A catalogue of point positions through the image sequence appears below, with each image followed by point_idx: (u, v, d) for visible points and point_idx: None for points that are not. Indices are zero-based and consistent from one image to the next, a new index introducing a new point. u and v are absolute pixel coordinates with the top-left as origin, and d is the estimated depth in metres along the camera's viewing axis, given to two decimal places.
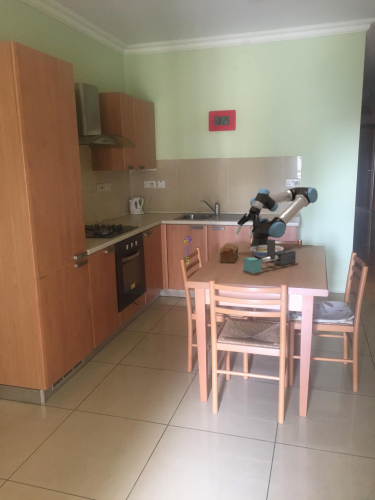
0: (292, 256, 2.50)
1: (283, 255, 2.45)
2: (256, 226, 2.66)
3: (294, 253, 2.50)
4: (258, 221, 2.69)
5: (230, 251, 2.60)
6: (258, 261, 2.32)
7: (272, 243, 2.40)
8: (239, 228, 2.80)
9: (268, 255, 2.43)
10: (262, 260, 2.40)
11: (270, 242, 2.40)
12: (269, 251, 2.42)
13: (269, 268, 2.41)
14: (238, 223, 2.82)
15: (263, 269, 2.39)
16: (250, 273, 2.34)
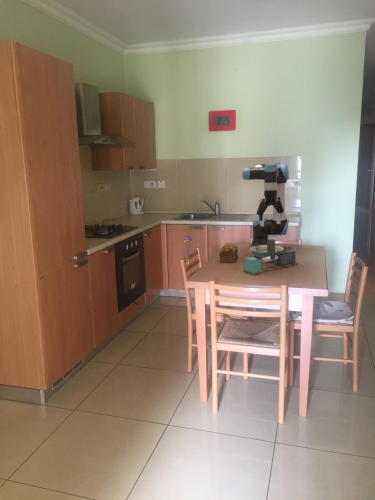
0: (292, 256, 2.50)
1: (283, 255, 2.45)
2: (283, 211, 2.42)
3: (294, 253, 2.50)
4: None
5: (229, 251, 2.61)
6: (258, 261, 2.32)
7: (272, 243, 2.40)
8: None
9: (268, 255, 2.43)
10: (262, 260, 2.40)
11: (270, 242, 2.40)
12: (269, 251, 2.42)
13: (269, 268, 2.41)
14: (260, 213, 2.33)
15: (263, 269, 2.39)
16: (250, 273, 2.34)
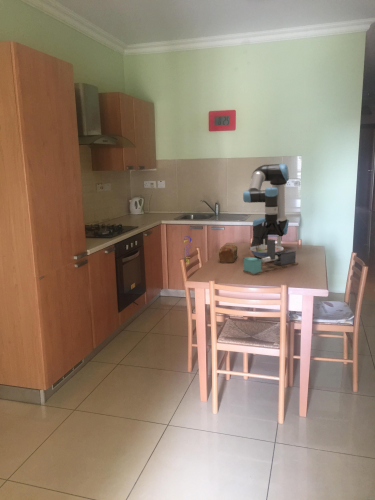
0: (292, 256, 2.50)
1: (283, 255, 2.45)
2: (284, 234, 2.45)
3: (294, 253, 2.50)
4: None
5: (229, 251, 2.61)
6: (258, 261, 2.32)
7: (272, 243, 2.40)
8: None
9: (268, 255, 2.43)
10: (262, 260, 2.40)
11: (270, 242, 2.40)
12: (269, 251, 2.42)
13: (269, 268, 2.41)
14: (261, 237, 2.35)
15: (263, 269, 2.39)
16: (250, 273, 2.34)
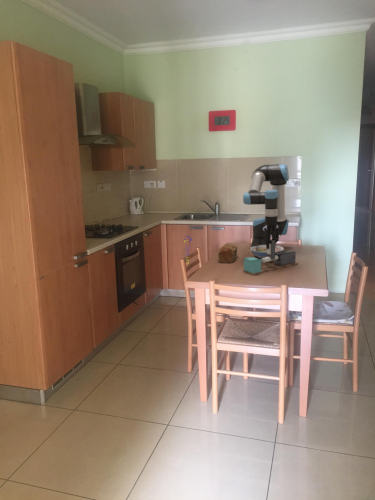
0: (292, 256, 2.50)
1: (283, 255, 2.45)
2: None
3: (294, 253, 2.50)
4: None
5: (228, 251, 2.61)
6: (258, 261, 2.32)
7: (272, 243, 2.40)
8: None
9: (268, 255, 2.43)
10: (262, 260, 2.40)
11: (270, 242, 2.40)
12: None
13: (269, 268, 2.41)
14: None
15: (263, 269, 2.39)
16: (250, 273, 2.34)
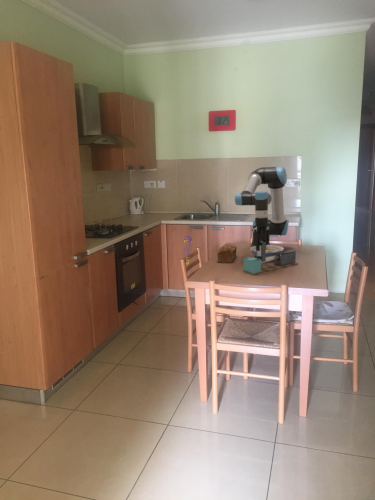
0: (292, 256, 2.50)
1: (283, 255, 2.45)
2: (268, 242, 2.39)
3: (294, 253, 2.50)
4: None
5: (227, 251, 2.61)
6: (258, 261, 2.32)
7: (262, 245, 2.36)
8: None
9: (258, 257, 2.39)
10: None
11: (260, 244, 2.36)
12: None
13: (269, 268, 2.41)
14: None
15: (263, 269, 2.39)
16: (250, 273, 2.34)
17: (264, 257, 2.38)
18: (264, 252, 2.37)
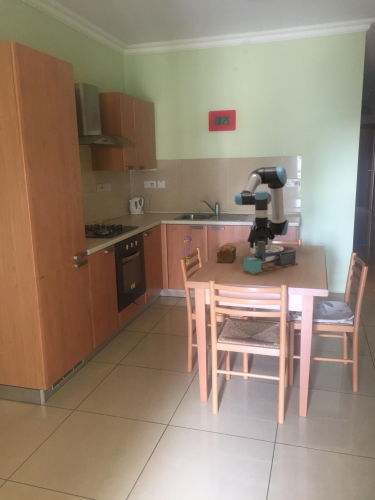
0: (292, 256, 2.50)
1: (283, 255, 2.45)
2: (274, 237, 2.41)
3: (294, 253, 2.50)
4: None
5: (227, 251, 2.61)
6: (258, 261, 2.32)
7: (262, 245, 2.36)
8: None
9: (258, 257, 2.39)
10: None
11: (260, 244, 2.36)
12: (259, 253, 2.38)
13: (269, 268, 2.41)
14: None
15: (263, 269, 2.39)
16: (250, 273, 2.34)
17: (264, 257, 2.38)
18: (264, 252, 2.37)
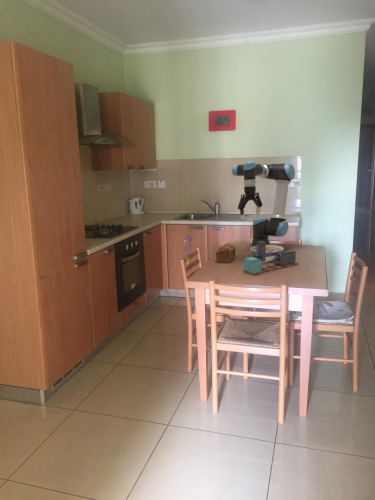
0: (292, 256, 2.50)
1: (283, 255, 2.45)
2: None
3: (294, 253, 2.50)
4: None
5: (226, 251, 2.61)
6: (258, 261, 2.32)
7: (262, 245, 2.36)
8: None
9: (258, 257, 2.39)
10: None
11: (260, 244, 2.36)
12: (259, 253, 2.38)
13: (269, 268, 2.41)
14: (240, 208, 2.54)
15: (263, 269, 2.39)
16: (250, 273, 2.34)
17: (264, 257, 2.38)
18: (264, 252, 2.37)
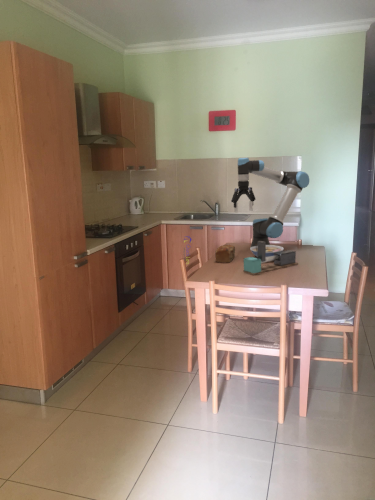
0: (292, 256, 2.50)
1: (283, 255, 2.45)
2: (255, 199, 2.78)
3: (294, 253, 2.50)
4: None
5: (225, 251, 2.61)
6: (258, 261, 2.32)
7: (262, 245, 2.36)
8: None
9: (258, 257, 2.39)
10: None
11: (260, 244, 2.36)
12: (259, 253, 2.38)
13: (269, 268, 2.41)
14: (234, 201, 2.69)
15: (263, 269, 2.39)
16: (250, 273, 2.34)
17: (264, 257, 2.38)
18: (264, 252, 2.37)
